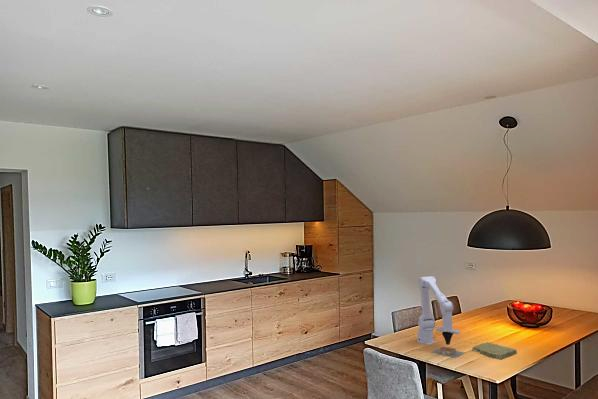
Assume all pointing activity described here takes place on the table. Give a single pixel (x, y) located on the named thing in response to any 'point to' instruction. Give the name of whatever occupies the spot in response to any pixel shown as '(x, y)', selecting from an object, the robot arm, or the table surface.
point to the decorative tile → (494, 350)
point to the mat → (448, 355)
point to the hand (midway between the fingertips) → (448, 344)
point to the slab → (447, 350)
